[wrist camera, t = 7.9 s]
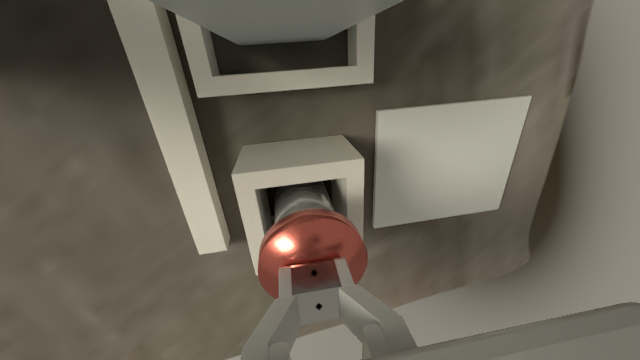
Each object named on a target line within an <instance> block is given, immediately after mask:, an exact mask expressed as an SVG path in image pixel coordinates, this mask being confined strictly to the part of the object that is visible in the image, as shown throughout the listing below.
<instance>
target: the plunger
mask: <svg viewBox="0 0 640 360" xmlns="http://www.w3.org/2000/svg"><path fill="white" fill-rule="evenodd" d="M341 257H345V259H346V262H347V264H348V267H349V270H350V273H351V275H352V278H353V281H354V284H357V283H358V282H359V281H360V279H361V278H362V276H363V274H364V272H365V270H366V266H367V260H368V256H367V250H366V247H365V244H364V242H363V240H362V238H361V236H360V234H359V232H358V230H357V228H356V227H355V225H354V224H353V223H352V222H351V221H350V220H349V219H348V218H347V217H345V216H343V215H342V214H339V213H337V212H335V210H334V208H333V205H332V203H331V200H330V198H329V195H328V193H327V190H326V188H325V185H324V183H323V181H316V182H309V183H301V184H293V185H285V186H278V187H276V190H275V224H274V225H273V226H272V227H271V228H270V229H269V230H268V231H267V233H266V234H265V236H264V237H263V239H262V242H261V245H260V249H259V259H258V277H259V280H260V283H261V285H262V286H263V288H264V289H265V290H266V292H267V293H268V294H270V295H271V296H272V297H274V298H275V299H277V298H279V267H287V266H292V265H299V264H306V263H313V262H318V261H324V260H330V259H335V258H341Z"/></svg>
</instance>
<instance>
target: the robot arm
mask: <svg viewBox="0 0 640 360" xmlns="http://www.w3.org/2000/svg"><path fill="white" fill-rule="evenodd" d="M337 318H340V320H341V321H342V322H343V323H344V324H345V325H346V326H347V327H348V328H349V329H350V331H352V333H353V334H354V335H355V336H356V337H357V338H358V339H359V340H360V341H361V343H362V360H640V303H636V302H628V303H621V304H616V305H612V306H607V307H603V308H598V309H594V310H589V311H585V312H580V313H575V314H570V315H566V316H561V317H557V318H552V319H547V320H543V321H538V322H533V323H529V324H524V325H520V326H515V327H510V328H506V329H501V330H496V331H492V332H487V333H482V334H478V335H473V336H469V337H464V338H459V339H454V340H450V341H445V342H440V343H436V344H431V345H427V346H422V347H417V345H416V343H415V341H414V339H413V337H412V335H411V333H410V331H409V329H408V327H407V325H406V323H405V321H404V319H403V317H402V316H400V315H399V314H397V313H396V312H395V311H394V310H392V309H391V308H390V307H388V306H387V305H386V304H384V303H383V302H382V301H380V300H379V299H378V298H376V297H375V296H373V295H372V294H371V293H369V292H368V291H367V290H365V289H364V288H363V287H361V286H360V285H359V284H354V281H353V278H352V275H351V273H350V270H349V267H348V264H347V262H346V259H345V257H341V258H335V259H330V260H324V261H318V262H313V263H306V264H299V265H292V266H287V267H279V298H277V299H275V300H274V302H273V303H272V305H271V306H270V308H269V309H268V311H267V312H266V314H265V315H264V317H263V318H262V320H261V321H260V323H259V324H258V326H257V327H256V329H255V330H254V331H253V333H252V334H251V336H250V337H249V339H248V340H247V342H246V343H245V345H244V346H243V348H242V354H241V360H291V358H290V351H291V349H292V347H293V344H294V342H295V340H296V337H297V335H298V333H299V330H300V328H301V325H306V324H310V323H315V322H319V321H325V320H331V319H337Z"/></svg>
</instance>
